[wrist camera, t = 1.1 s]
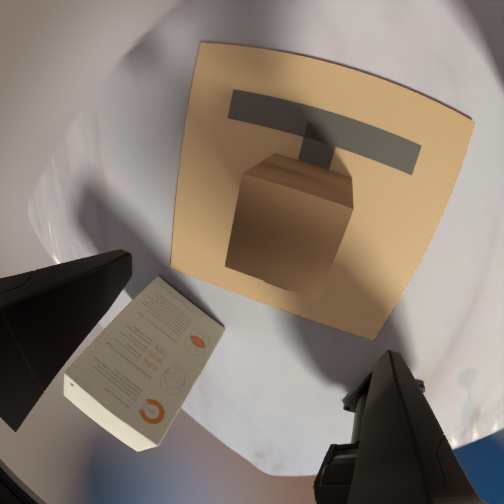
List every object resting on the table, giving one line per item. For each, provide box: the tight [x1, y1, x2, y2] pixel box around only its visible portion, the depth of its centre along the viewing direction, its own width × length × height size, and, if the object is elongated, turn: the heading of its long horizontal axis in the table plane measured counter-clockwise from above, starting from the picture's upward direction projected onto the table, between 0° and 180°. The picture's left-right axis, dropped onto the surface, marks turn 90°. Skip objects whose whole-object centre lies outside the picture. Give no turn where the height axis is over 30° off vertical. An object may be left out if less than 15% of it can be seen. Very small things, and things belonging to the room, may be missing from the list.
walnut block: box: [225, 153, 354, 300], centre depth 16 cm, size 5×5×6 cm
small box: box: [64, 276, 225, 451], centre depth 22 cm, size 8×6×13 cm
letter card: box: [171, 42, 475, 340], centre depth 19 cm, size 18×18×1 cm
